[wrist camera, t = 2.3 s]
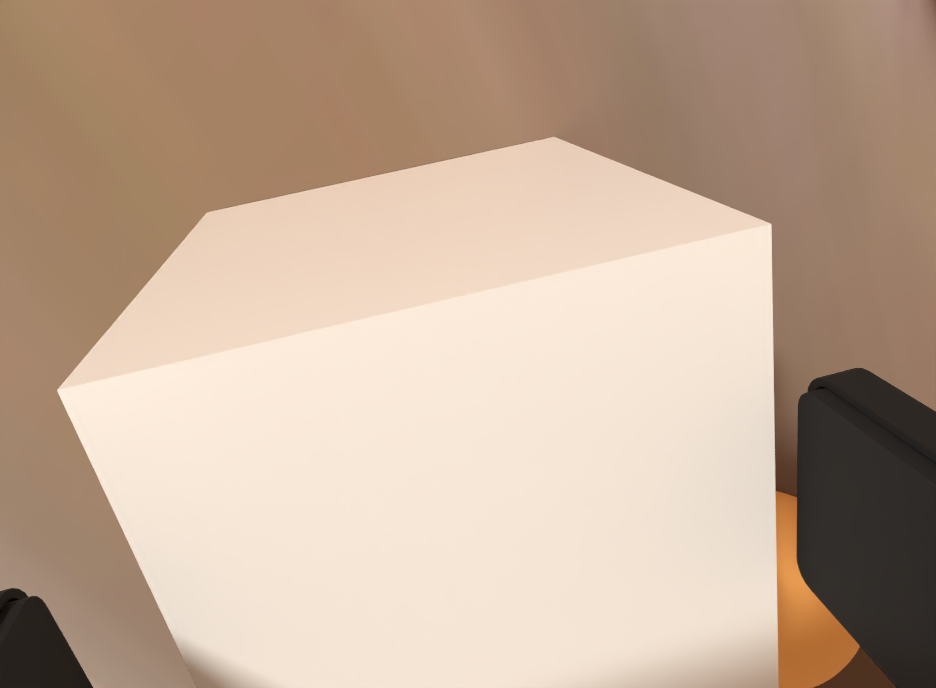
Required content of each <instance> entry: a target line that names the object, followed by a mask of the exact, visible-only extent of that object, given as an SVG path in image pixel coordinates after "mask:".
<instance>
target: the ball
mask: <svg viewBox="0 0 936 688" xmlns="http://www.w3.org/2000/svg"><path fill="white" fill-rule="evenodd" d="M775 493H776V557H777V620H778V684H779V688H813V687H816V686H818V685H820V684H822V683H824V682H826V681H828V680H829V679H831V678H832V677H834V676H835V675H836V674H838V673H839V672H840V671H841V670H842V669H843V668H844V667H845V666H846V665H847V664H848V663H849V662H850V661H851V660H852V658H853V657H854V655H855V654H856V653H857V651H858V649H859V647H860V645H859V644H858V643H857V642H856V641H855V640H854V639H853V637H852V636H851V635H850V634H849V633H848V632H847V631H846V629H845V628H844V627H843V626H842V625H841V624H840V623H839V622H838V620H837V619H836V618H835V617H834V616H833V615H832V614H831V612H830V611H829V610H828V609H827V608H826V607H825V606H824V604H823V603H822V602H821V601H820V600H819V599H818V598H817V597H816V595H815V594H814V593H813V592H812V591H811V590H810V589H809V587H808V586H807V585H806V583H805V581H804V580H803V578H802V576H801V573H800V571H799V568H798V564H797V557H796V556H797V497H794V496H791V495H789V494H786V493H783V492H779V491H775Z"/></svg>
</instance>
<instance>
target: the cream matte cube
mask: <svg viewBox="0 0 936 688" xmlns="http://www.w3.org/2000/svg"><path fill="white" fill-rule="evenodd" d="M57 391H58V393H59V396H60V398H61V400H62V402H63V404H64V406H65V408H66V410H67V413H68V415H69V417H70V419H71V421H72V423H73V425H74V428H75V430H76V432H77V434H78V436H79V438H80V440H81V442H82V445H83V447H84V449H85V451H86V453H87V455H88V457H89V459H90V462H91V464H92V466H93V468H94V470H95V472H96V474H97V476H98V479H99V481H100V483H101V485H102V487H103V489H104V491H105V493H106V496H107V498H108V500H109V502H110V504H111V506H112V508H113V510H114V513H115V515H116V517H117V519H118V521H119V523H120V525H121V527H122V530H123V532H124V534H125V536H126V538H127V540H128V542H129V544H130V547H131V549H132V551H133V553H134V555H135V557H136V559H137V561H138V564H139V566H140V568H141V570H142V572H143V574H144V576H145V578H146V581H147V583H148V585H149V587H150V589H151V591H152V593H153V595H154V598H155V600H156V602H157V604H158V606H159V608H160V610H161V612H162V615H163V617H164V619H165V621H166V623H167V625H168V627H169V629H170V632H171V634H172V636H173V638H174V640H175V642H176V644H177V646H178V649H179V651H180V653H181V655H182V657H183V659H184V661H185V663H186V666H187V668H188V670H189V672H190V674H191V676H192V678H193V680H194V683H195V685H196V687H197V688H779V684H778V620H777V557H776V493H775V430H774V366H773V303H772V239H771V224H770V223H768V222H765V221H763V220H760V219H758V218H755V217H753V216H750V215H748V214H745V213H743V212H740V211H738V210H735V209H733V208H730V207H728V206H725V205H723V204H720V203H718V202H715V201H713V200H710V199H708V198H705V197H703V196H700V195H698V194H695V193H693V192H690V191H688V190H685V189H683V188H680V187H678V186H675V185H673V184H670V183H668V182H665V181H663V180H660V179H658V178H655V177H653V176H650V175H648V174H645V173H643V172H640V171H638V170H635V169H633V168H630V167H628V166H625V165H623V164H620V163H618V162H615V161H613V160H610V159H608V158H605V157H603V156H600V155H598V154H595V153H593V152H591V151H588V150H586V149H583V148H581V147H578V146H576V145H573V144H571V143H568V142H566V141H563V140H561V139H558V138H556V137H551V138H547V139H542V140H538V141H533V142H528V143H524V144H519V145H515V146H510V147H505V148H501V149H496V150H492V151H487V152H482V153H478V154H473V155H469V156H464V157H459V158H455V159H450V160H446V161H441V162H437V163H432V164H427V165H423V166H418V167H414V168H409V169H404V170H400V171H395V172H391V173H386V174H381V175H377V176H372V177H368V178H363V179H358V180H354V181H349V182H345V183H340V184H336V185H331V186H326V187H322V188H317V189H313V190H308V191H303V192H299V193H294V194H290V195H285V196H280V197H276V198H271V199H267V200H262V201H257V202H253V203H248V204H244V205H239V206H235V207H230V208H225V209H221V210H216V211H212V212H207V213H206V214H205V216H204V217H203V218H202V219H201V220H200V221H199V223H198V224H197V225H196V226H195V227H194V229H193V230H192V231H191V232H190V233H189V234H188V236H187V237H186V238H185V239H184V240H183V242H182V243H181V244H180V245H179V246H178V248H177V249H176V250H175V251H174V252H173V253H172V255H171V256H170V257H169V258H168V259H167V261H166V262H165V263H164V264H163V265H162V266H161V268H160V269H159V270H158V271H157V272H156V274H155V275H154V276H153V277H152V278H151V280H150V281H149V282H148V283H147V284H146V285H145V287H144V288H143V289H142V290H141V291H140V293H139V294H138V295H137V296H136V297H135V298H134V300H133V301H132V302H131V303H130V304H129V306H128V307H127V308H126V309H125V310H124V312H123V313H122V314H121V315H120V316H119V317H118V319H117V320H116V321H115V322H114V323H113V325H112V326H111V327H110V328H109V329H108V330H107V332H106V333H105V334H104V335H103V336H102V338H101V339H100V340H99V341H98V342H97V344H96V345H95V346H94V347H93V348H92V349H91V351H90V352H89V353H88V354H87V355H86V357H85V358H84V359H83V360H82V361H81V362H80V364H79V365H78V366H77V367H76V368H75V370H74V371H73V372H72V373H71V374H70V376H69V377H68V378H67V379H66V380H65V381H64V383H63V384H62V385H61V386H60V387H59V389H58V390H57Z"/></svg>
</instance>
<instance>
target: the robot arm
mask: <svg viewBox="0 0 936 688" xmlns="http://www.w3.org/2000/svg"><path fill="white" fill-rule="evenodd" d="M796 557H797V564H798V568H799V571H800V573H801V576H802V578H803V580H804V581H805V583H806V585H807V586H808V587H809V589H810V590H811V591H812V592H813V593H814V594H815V595H816V597H817V598H818V599H819V600H820V601H821V602H822V603H823V604H824V606H825V607H826V608H827V609H828V610H829V611H830V612H831V614H832V615H833V616H834V617H835V618H836V619H837V620H838V622H839V623H840V624H841V625H842V626H843V627H844V628H845V629H846V631H847V632H848V633H849V634H850V635H851V636H852V637H853V639H854V640H855V641H856V642H857V643H858V644H859V645H860V646H861V648H862V649H863V650H864V651H865V652H866V653H867V654H868V656H869V657H870V658H871V659H872V660H873V661H874V662H875V664H876V665H877V666H878V667H879V668H880V669H881V670H882V671H883V673H884V674H885V675H886V676H887V677H888V678H889V679H890V681H891V682H892V683H893V684H894V685H895V686H896V687H897V688H936V412H935V411H934V410H932V409H930V408H929V407H927V406H925V405H924V404H922V403H920V402H919V401H917V400H916V399H914V398H912V397H911V396H909V395H907V394H906V393H904V392H902V391H901V390H899V389H897V388H896V387H894V386H893V385H891V384H889V383H888V382H886V381H884V380H883V379H881V378H879V377H878V376H876V375H874V374H873V373H871V372H870V371H868V370H865V369H863V368H854V369H850V370H846V371H843V372H839V373H835V374H831V375H827V376H823V377H820V378H816V379H814V380H813V381H812V382H811V383H810V385H809V387H808V393H804V394H803V395H801V397H800V399H799V403H798V457H797V556H796ZM0 688H93V687H92V685H91V683H90V681H89V680H88V678H87V676H86V674H85V673H84V671H83V669H82V667H81V666H80V664H79V662H78V660H77V659H76V657H75V655H74V653H73V652H72V650H71V648H70V646H69V644H68V643H67V641H66V639H65V637H64V636H63V634H62V632H61V630H60V629H59V627H58V625H57V623H56V622H55V620H54V618H53V616H52V615H51V613H50V611H49V609H48V608H47V606H46V604H45V603H44V602H43V600H42V599H40V598H39V597H37V596H31V597H28V596H27V595H26V593H25V592H23V591H21V590H20V589H15V588H11V589H7V590H3V591H0Z"/></svg>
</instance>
